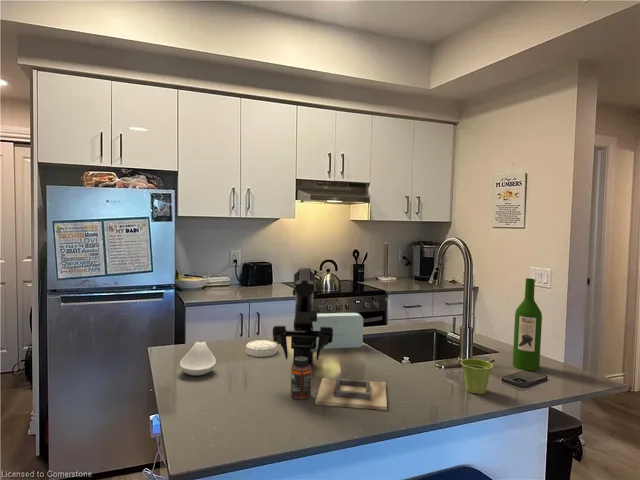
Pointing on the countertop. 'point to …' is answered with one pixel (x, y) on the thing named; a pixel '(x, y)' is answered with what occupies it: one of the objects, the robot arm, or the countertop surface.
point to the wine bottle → (527, 331)
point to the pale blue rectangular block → (341, 329)
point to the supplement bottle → (301, 378)
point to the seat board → (352, 393)
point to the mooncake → (261, 348)
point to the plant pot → (476, 375)
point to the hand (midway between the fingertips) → (301, 359)
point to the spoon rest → (198, 360)
